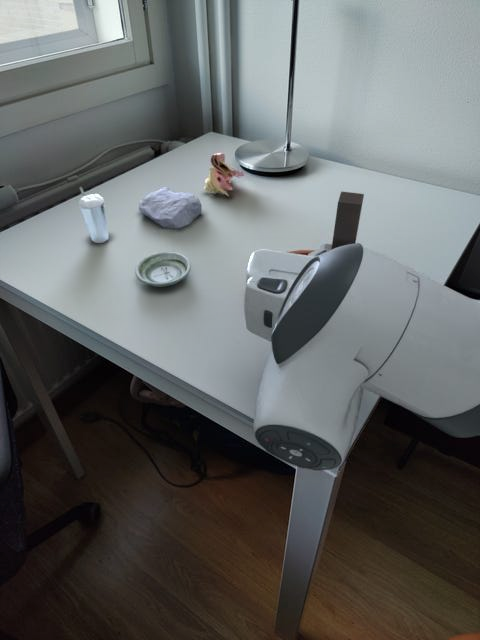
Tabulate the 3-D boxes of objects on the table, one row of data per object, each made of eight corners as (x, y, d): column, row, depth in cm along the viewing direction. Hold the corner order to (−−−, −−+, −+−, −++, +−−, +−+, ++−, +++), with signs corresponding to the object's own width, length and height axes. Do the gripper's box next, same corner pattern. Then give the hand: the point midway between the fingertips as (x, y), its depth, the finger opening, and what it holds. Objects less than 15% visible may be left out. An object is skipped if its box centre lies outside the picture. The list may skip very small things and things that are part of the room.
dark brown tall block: (351, 290, 62) (369, 192, 52) (347, 306, 59) (366, 206, 50) (324, 285, 62) (337, 188, 53) (319, 302, 60) (332, 202, 50)
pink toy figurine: (211, 206, 103) (188, 168, 102) (222, 206, 112) (201, 172, 112) (246, 182, 100) (222, 144, 99) (253, 185, 110) (232, 150, 109)
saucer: (127, 275, 83) (125, 264, 81) (173, 256, 87) (172, 245, 85) (154, 302, 77) (152, 290, 75) (202, 280, 81) (201, 269, 80)
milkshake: (102, 229, 95) (90, 183, 88) (116, 238, 92) (106, 192, 85) (82, 237, 93) (69, 191, 86) (96, 247, 90) (84, 200, 83)
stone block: (179, 239, 95) (206, 210, 100) (172, 220, 91) (201, 191, 96) (136, 225, 100) (164, 199, 105) (129, 207, 96) (158, 181, 101)
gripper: (442, 316, 43) (438, 240, 53) (231, 281, 47) (264, 217, 57) (425, 363, 47) (424, 284, 57) (232, 327, 51) (263, 259, 61)
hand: (342, 250), depth 57 cm, fingers closed on dark brown tall block, 2 cm apart
